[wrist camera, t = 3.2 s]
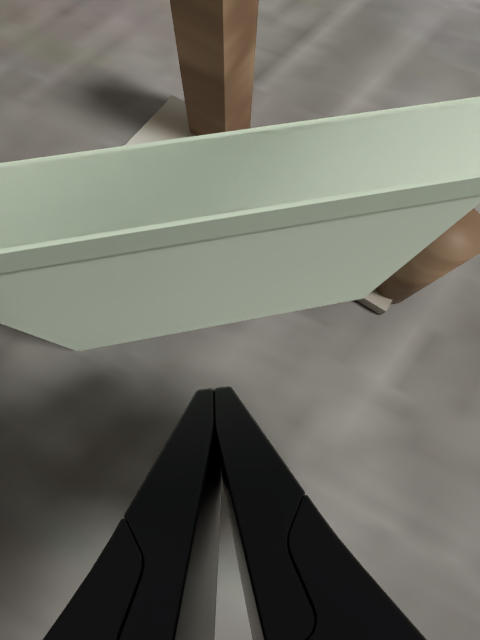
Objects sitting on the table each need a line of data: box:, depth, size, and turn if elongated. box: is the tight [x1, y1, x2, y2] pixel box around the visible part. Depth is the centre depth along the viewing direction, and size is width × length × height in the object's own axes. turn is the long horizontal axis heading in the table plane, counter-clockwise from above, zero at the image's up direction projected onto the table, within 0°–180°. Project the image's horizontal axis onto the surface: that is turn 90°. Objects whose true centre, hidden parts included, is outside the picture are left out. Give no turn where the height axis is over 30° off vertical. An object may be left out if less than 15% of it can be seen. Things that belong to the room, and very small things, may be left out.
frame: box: [125, 0, 480, 315], centre depth 13 cm, size 6×17×9 cm, turn 56°
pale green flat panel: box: [0, 97, 480, 351], centre depth 11 cm, size 13×2×8 cm, turn 101°
